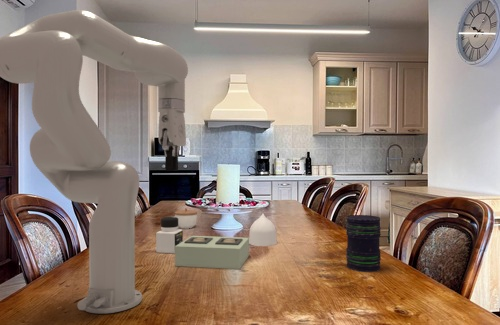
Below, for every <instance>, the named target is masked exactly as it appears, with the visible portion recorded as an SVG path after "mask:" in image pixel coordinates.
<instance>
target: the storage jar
mask: <svg viewBox="0 0 500 325" xmlns="http://www.w3.org/2000/svg"><path fill="white" fill-rule="evenodd" d="M345 227H346V228H345V229H346V232H345V234H346V236H347V238H346V239H347V242H346V243H347V244H346V246H347V247H346V250H345V258H346V268H347V269H348V270H352V271H355V272H361V273H374V272H375V273H376V272H379V271H380V270H381V261H382V257H381V254H382V252H381V249H380V238H381V235H382V234H381V229H382V228H381V217H379V216H376V215H369V214H368V215H367V214H365V215H364V214H352V215H351V214H350V215H346V225H345Z"/></svg>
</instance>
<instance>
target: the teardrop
mask: <svg viewBox="0 0 500 325" xmlns="http://www.w3.org/2000/svg"><path fill="white" fill-rule="evenodd" d="M277 234H278V233H277V230H276V227H275V225H274V223H273V222H272V221H271V220H270V219H269V218H268V217H266V215H265V214H264V212H262V214H261V215H260V216H259V217H258V218H257V219H256V220H254V222H252V225H251V226H250V228H249V235H248V238H249V245H251V246H256V247H270V246H276V245H277V244H278V236H277Z"/></svg>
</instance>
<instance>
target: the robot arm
mask: <svg viewBox="0 0 500 325" xmlns="http://www.w3.org/2000/svg"><path fill="white" fill-rule="evenodd" d="M83 56H85V57H87V58H89V59H91V60H93V61H96V62H98V63H101V64H103V65H106V66H108V67H110V68H111V69H114V70H117V71H124V72H132V73H133V74H134V77H135V78H136V80H137V81H138V82H140V83H141V84H142V85H145V86H150V87H151V86H152V87H157V88H158V92H157V96H158V99H157V105H158V106H157V111H158V113H159V116H158V131H157V132H158V133H157V134H158V142H159V144H160V145H161V147H162V148H161V149H162V150H164V157H165V164H164V165H165V171H173V172H174V171H176V172H177V171H178V170H179V152H180V151H181V147H185V146H186V145H187V136H186V121H185V113H186V101H185V100H186V99H185V98H186V79H187V77H188V74H189V67H188V63H187V61H186V59H185V57H184V56H183V55H182V54H181V53H180V52H179V51H177V50H175V49H174V48H172V47H171V46H169V45H167V44H165V43H161V42H159V41H155V40H150V39H146V38H144V37H143V38H142V37H141V36H135V35H130V34H128V33H126V32H125V31H123V30H122V29H120V28H118V27H117V26H115V25H113V24H112V23H110V22H109V21H107V20H105V19H103V18H102V17H100V16H98V15H97V14H95V13H93V12H91V11H88V10H84V9H75V10H69V11H64V12H58V13H52V14H47V15H44V16H42V17H39V18H38V19H35V20H34V21H32V22H29V23H27V24H26V25H24V26H22V27H20V28H18V29H15V30H14V31H12V32H9V33H8V34H5V35H3V36H2V37H0V78H2V79H3V80H5V81H7V82H9V83H11V84H12V83H13V84H32V83H34V84H33V88H32V89H33V90H32V97H31V111H32V112H31V113H32V115H33V117H34V119H35V121H36V123H37V124H38V126H39V127H40V129H37V131H36V132H35V133H33V135H32V136H31V138H30V142H29V153H30V157H31V160H32V162H33V163H34V165H35V167H36V168H37V169H38V170H39V171H40V172H41V174H42V175H43V176H44V177H45V178H46V179H47V181H49V182H50V183H51V184H52V185H53V187H54V188H55V189H57V191H58V192H60V193H61V195H63V196H64V197H65V198H66V199H67V200H69V201H71V202H74V203H79V204H80V203H82V204H97V206H96V208H95V210H94V212H93V214H92V215H91V217H90V220H89V226H88V235H89V236H88V238H89V241H88V244H89V246H88V250H89V252H88V253H89V254H88V255H89V256H88V257H89V258H88V262H89V264H88V268H89V269H88V270H89V271H88V274H89V275H88V276H89V277H88V278H89V279H88V281H89V282H88V284H89V286H88V287H89V288H88V289H87V295H86V296H85V297H83V299H81V300H79V301H78V302H77V308H78V309H77V310H80V311H85V312H87V313H91V314H100V315H101V314H104V315H105V314H113V313H114V314H115V313H119V312H123V311H126V310H129V309H132V308H134V307H136V306H138V305H139V304H141V302H142V300H143V295H142V292H141V291H139V290H137V289H136V286H135V285H136V280H135V279H136V270H135V267H136V266H135V264H136V263H135V262H136V260H135V258H136V257H135V256H136V255H135V253H136V249H135V247H136V246H135V244H136V243H135V242H136V241H135V240H136V239H135V238H136V237H135V235H136V234H135V226H136V225H135V224H136V223H135V220H136V218H135V217H136V206H137V205H136V204H137V198H138V194H139V190H140V176H139V173H138V171H137V169H136V168H135V167H134V166H133V165H131V164H129V163H128V162H126V161H125V162H123V161H118V160H110V158H111V155H112V150H111V146H110V144H109V141H108V140H107V138H106V137H105V135H104V134H103V132H102V130H101V129H100V128H99V126H98V125H97V123H96V122H95V120H94V119H93V118H92V116H91V115H90V114H89V112H88V110H87V109H86V107H85V105H84V104H83V101H82V100H81V96H80V95H81V94H80V79H81V73H82V68H83V62H84V61H83V59H84V57H83Z"/></svg>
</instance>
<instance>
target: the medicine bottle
mask: <svg viewBox="0 0 500 325" xmlns="http://www.w3.org/2000/svg"><path fill="white" fill-rule="evenodd" d="M160 229H161V230H159V231H157V232H156V233H155V234H156V235H155V238H156V240H155V243H156V244H155V245H156V246H155V247H156V248H155V252H156V253H157V254H175V246H176V245H178V244H180V243H181V242H183V241H184V238H183V236H184V235H183V234H184V233H183V232H184V231H183V229H181V228H179V226H178V218H177V217H175V216H164V217H161V219H160Z"/></svg>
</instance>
